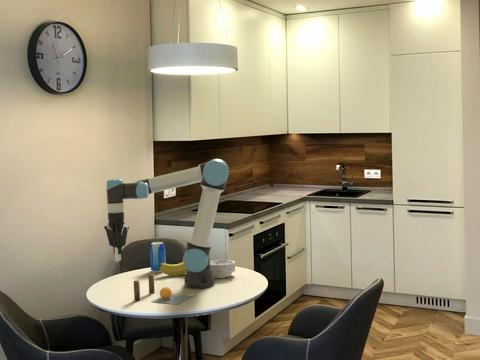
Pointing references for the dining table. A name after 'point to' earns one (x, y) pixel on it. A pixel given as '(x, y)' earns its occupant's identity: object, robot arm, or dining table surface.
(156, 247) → the beer can
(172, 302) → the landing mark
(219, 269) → the paper bowls
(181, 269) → the banana
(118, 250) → the robot arm
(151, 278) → the post
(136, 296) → the post
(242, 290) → the dining table surface
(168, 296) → the ball
